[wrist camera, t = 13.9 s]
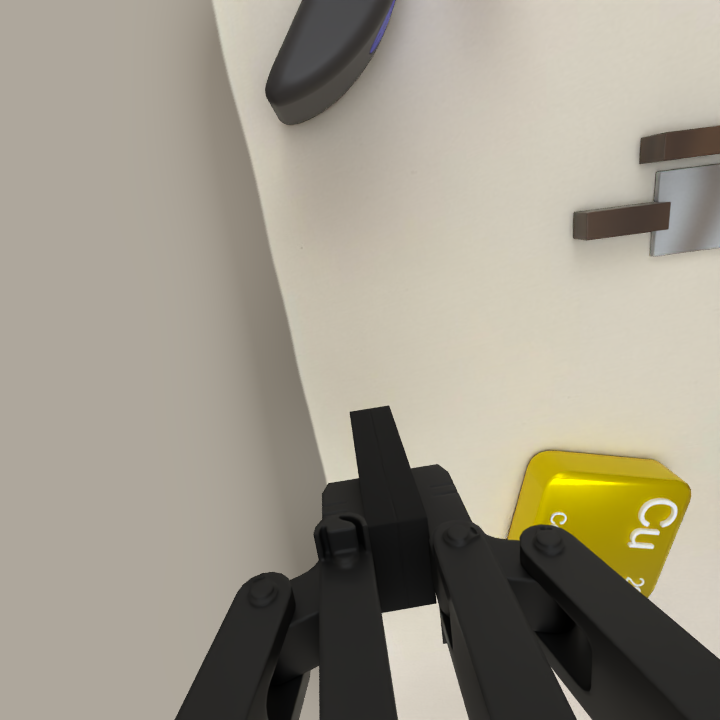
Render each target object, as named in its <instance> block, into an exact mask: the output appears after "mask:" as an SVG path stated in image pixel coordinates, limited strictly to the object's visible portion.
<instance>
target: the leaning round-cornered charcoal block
mask: <svg viewBox="0 0 720 720" xmlns="http://www.w3.org/2000/svg"><path fill="white" fill-rule="evenodd" d="M394 3H395V0H302V2H301V4H300V6H299V8H298V11H297V13H296V15H295V17H294V20H293V22H292V24H291V26H290V28H289V31H288V33H287V35H286V37H285V40H284V42H283V44H282V46H281V48H280V51H279V53H278V55H277V57H276V59H275V62H274V64H273V66H272V69H271V71H270V74H269V77H268V80H267V83H266V87H265V93H266V97H267V99H268V101H269V103H270V104H271V106H272V108H273V109H274V111H275V113H276V115H277V116H278V118H279V120H280V121H281V122H283V123H284V124H287V125H292V124H298V123H301V122H304V121H306V120H309V119H311V118H313V117H315V116H316V115H318V114H320V113H321V112H323V111H324V110H325V109H327V108H328V107H330V106H331V105H332V104H333V103H335V102H336V101H337V100H338V99H339V98H340V97H341V96H342V95H343V94H344V93H345V92H346V91H347V90H348V89H349V88H350V87H351V86H352V85H353V83H354V82H355V81H356V80H357V78H358V77H359V76H360V75H361V73H362V72H363V70H364V69H365V67H366V66H367V64H368V63H369V61H370V59H371V58H372V56H373V54H374V53H375V51H376V49H377V47H378V45H379V43H380V41H381V39H382V36H383V34H384V32H385V30H386V27H387V24H388V22H389V19H390V16H391V13H392V10H393V7H394Z"/></svg>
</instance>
